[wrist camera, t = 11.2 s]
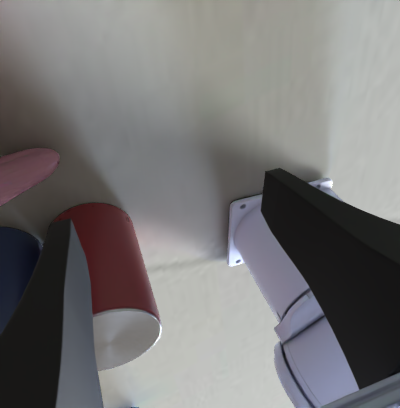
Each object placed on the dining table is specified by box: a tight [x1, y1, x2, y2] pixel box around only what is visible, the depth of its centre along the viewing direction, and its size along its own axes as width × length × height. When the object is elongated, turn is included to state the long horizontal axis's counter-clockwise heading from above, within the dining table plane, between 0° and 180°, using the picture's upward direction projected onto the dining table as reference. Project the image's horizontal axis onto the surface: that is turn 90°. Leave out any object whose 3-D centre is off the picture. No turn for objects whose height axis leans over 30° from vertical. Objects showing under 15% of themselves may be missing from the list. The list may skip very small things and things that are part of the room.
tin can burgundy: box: [53, 203, 161, 371], centre depth 22 cm, size 6×6×9 cm
